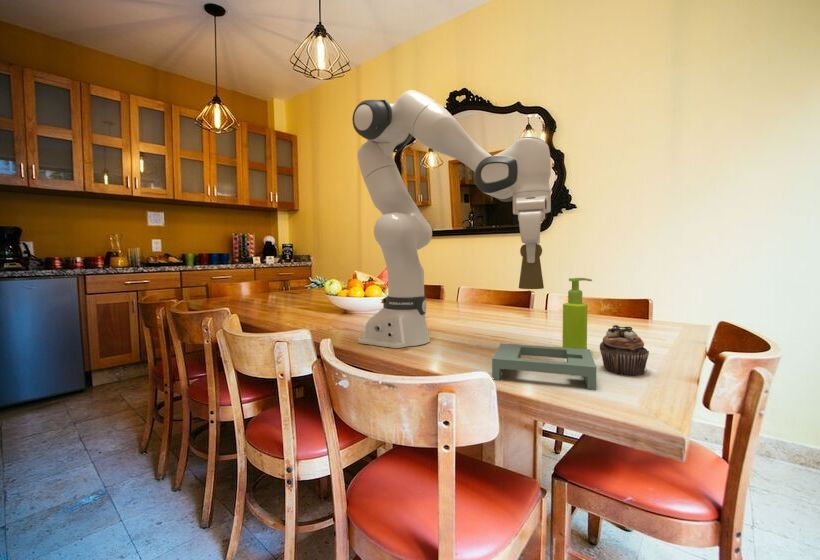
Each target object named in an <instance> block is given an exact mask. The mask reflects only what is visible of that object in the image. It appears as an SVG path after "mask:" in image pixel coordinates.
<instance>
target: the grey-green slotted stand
mask: <svg viewBox="0 0 820 560" xmlns="http://www.w3.org/2000/svg"><path fill="white" fill-rule="evenodd" d="M562 347H563V346H562ZM562 347H560V346H559V347H558V346H544V345H531V344H530V345H529V344H516V343H515V344H514V343H501V342H500V343H499V345H498V347H497V349H496V351H495V353H494V354H493V357H492V358H491V361H492V362H491V363H492V365H491V366H492V367H491V368H492V369H491V373H492V376H491V377H493V378H494V379H493V380H494V381H495V380H496V381H500V379H501V377H502V375H501V374H503V372H504V370H510V371H511V370H512V371H525V372H534V373H543V374H555V375H567V376H577V377H584V380H585V384H586V388H587V390H593V391H595V390H596V391H597V365H596V362H595V360H594V358H593V355H592V353H591V352H592V351H591V350H590V349H588V348H587V349H577V348H562ZM521 356H528V357H529V356H530V357H542V358H555V359H566V361H558V360H557V361H556V360H546V359H545V360H544V359H543V360H542V359H532V358H521ZM503 369H504V370H503Z"/></svg>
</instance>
